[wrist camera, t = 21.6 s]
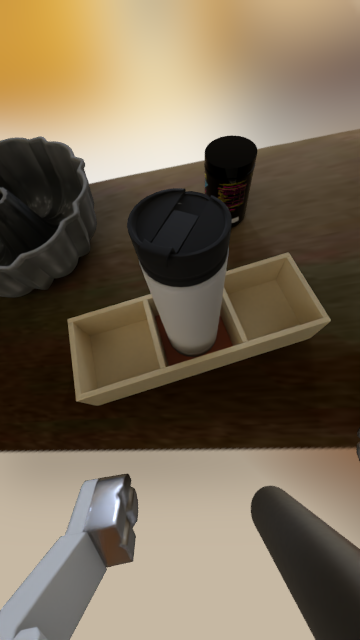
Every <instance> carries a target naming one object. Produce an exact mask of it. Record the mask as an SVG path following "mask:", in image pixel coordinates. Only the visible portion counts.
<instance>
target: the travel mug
mask: <svg viewBox="0 0 360 640" xmlns="http://www.w3.org/2000/svg"><path fill="white" fill-rule="evenodd" d="M231 225H232V218H231V213H230V211H229V209H228V207H227V206H226V205H225V204H224V203H223V202H222V201H221V200H220V199H218V198H216V197H214V196H212V195H211V197H209V196H208V195H205V194H202V193H198V192H193V191H188V192H185V189H167V190H163V191H159V192H156V193H154V194H152V195H149V196H147V197H146V198H144V199H143V200H141V201H140V202H139V203H138V204H137V205H136V206H135V207H134V208H133V210H132V211H131V213H130V215H129V218H128V223H127V228H128V232H129V235H130V238H131V240H132V243H133V246H134V248H135V251H136V254H137V256H138V259H139V263H140V266H141V269H142V271H143V274H144V277H145V279H146V282H147V284H148V287H149V289H150V292H151V295H152V297H153V300H154V302H155V305H156V307H157V310H158V313H159V315H160V318H161V320H162V323H163V325H164V328H165V330H166V333H167V336H168V338H169V341H170V343H171V345H172V347H173V348H174V349H175V350H176V351H177V352H178V353H180V354H182V355H184V356H188V357H197V356H201V355H203V354H205V353H207V352H208V351H209V350H210V349H211V348H212V347H213V345H214V344H215V341H216V337H217V330H218V323H219V316H220V309H221V302H222V295H223V288H224V281H225V274H226V267H227V259H228V252H229V247H228V246H229V240H230V233H231Z"/></svg>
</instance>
